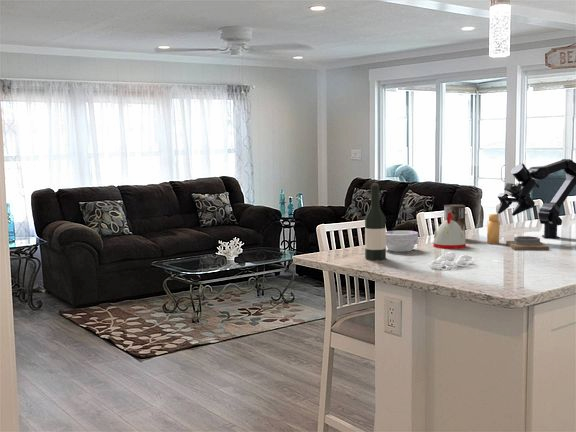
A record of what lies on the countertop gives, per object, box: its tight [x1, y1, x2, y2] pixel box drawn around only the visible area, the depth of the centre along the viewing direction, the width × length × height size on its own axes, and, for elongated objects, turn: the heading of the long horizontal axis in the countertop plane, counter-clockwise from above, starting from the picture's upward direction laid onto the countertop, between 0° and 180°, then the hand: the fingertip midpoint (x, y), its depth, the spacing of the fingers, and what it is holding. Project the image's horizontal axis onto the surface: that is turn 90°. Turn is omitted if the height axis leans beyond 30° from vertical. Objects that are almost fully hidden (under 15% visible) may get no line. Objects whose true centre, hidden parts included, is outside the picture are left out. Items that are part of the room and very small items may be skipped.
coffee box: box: [443, 204, 466, 235], centre depth 316 cm, size 9×6×16 cm
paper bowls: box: [386, 230, 419, 253], centre depth 288 cm, size 15×15×8 cm
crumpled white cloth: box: [428, 251, 475, 271], centre depth 251 cm, size 19×14×4 cm
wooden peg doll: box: [486, 213, 501, 245], centre depth 302 cm, size 5×5×13 cm
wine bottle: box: [364, 183, 387, 261], centre depth 268 cm, size 8×8×30 cm
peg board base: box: [505, 235, 550, 251], centre depth 290 cm, size 16×14×4 cm
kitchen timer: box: [432, 213, 467, 250], centre depth 296 cm, size 14×14×15 cm
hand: (505, 214), depth 304 cm, fingers open, 9 cm apart
